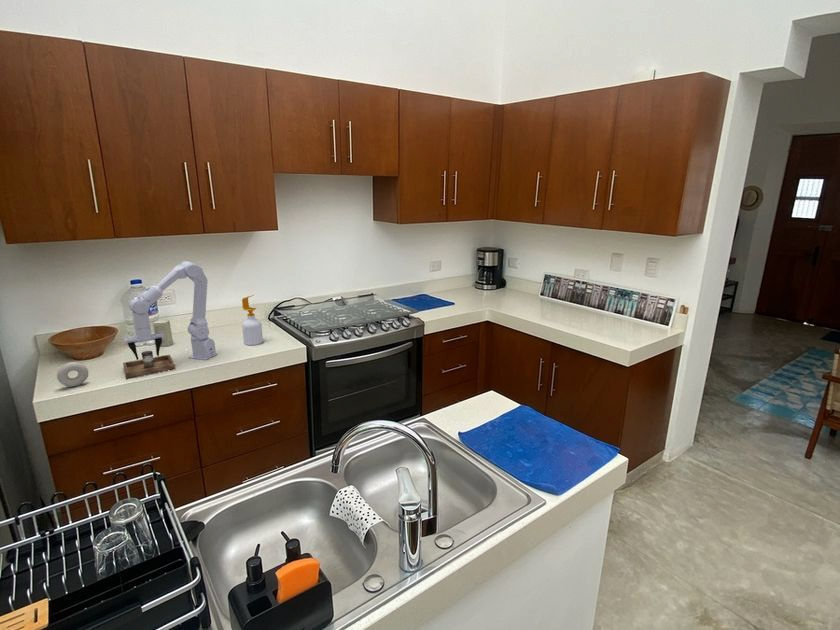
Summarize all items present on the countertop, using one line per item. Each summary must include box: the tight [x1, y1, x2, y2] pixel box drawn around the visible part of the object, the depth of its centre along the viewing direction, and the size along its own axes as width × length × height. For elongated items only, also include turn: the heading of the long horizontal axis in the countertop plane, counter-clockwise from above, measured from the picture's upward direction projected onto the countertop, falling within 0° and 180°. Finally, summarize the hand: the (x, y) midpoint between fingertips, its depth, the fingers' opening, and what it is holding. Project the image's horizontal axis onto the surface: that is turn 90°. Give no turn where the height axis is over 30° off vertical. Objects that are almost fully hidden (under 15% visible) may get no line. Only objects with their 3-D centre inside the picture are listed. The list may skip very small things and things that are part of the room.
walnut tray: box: [122, 354, 176, 380], centre depth 196 cm, size 18×14×2 cm
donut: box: [56, 361, 89, 388], centre depth 178 cm, size 10×3×10 cm, turn 133°
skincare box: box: [152, 320, 174, 347], centre depth 224 cm, size 6×4×12 cm
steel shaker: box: [141, 350, 155, 369], centre depth 196 cm, size 4×4×7 cm
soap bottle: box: [241, 294, 264, 346], centre depth 227 cm, size 9×9×25 cm
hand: (147, 357), depth 195 cm, fingers open, 7 cm apart
